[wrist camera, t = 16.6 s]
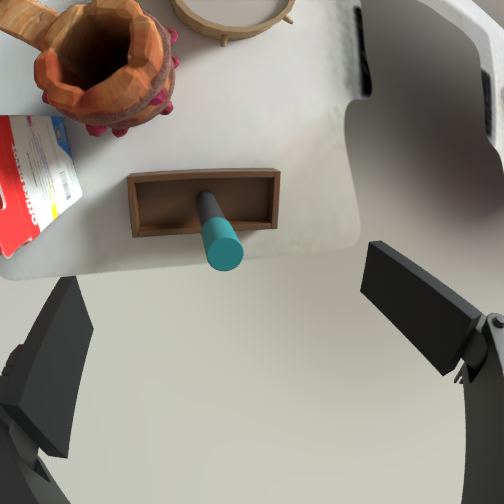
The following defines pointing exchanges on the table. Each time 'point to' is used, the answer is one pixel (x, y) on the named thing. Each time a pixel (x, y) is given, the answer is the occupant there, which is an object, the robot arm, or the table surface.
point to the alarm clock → (232, 16)
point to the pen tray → (184, 193)
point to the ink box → (33, 178)
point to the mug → (98, 60)
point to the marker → (217, 234)
